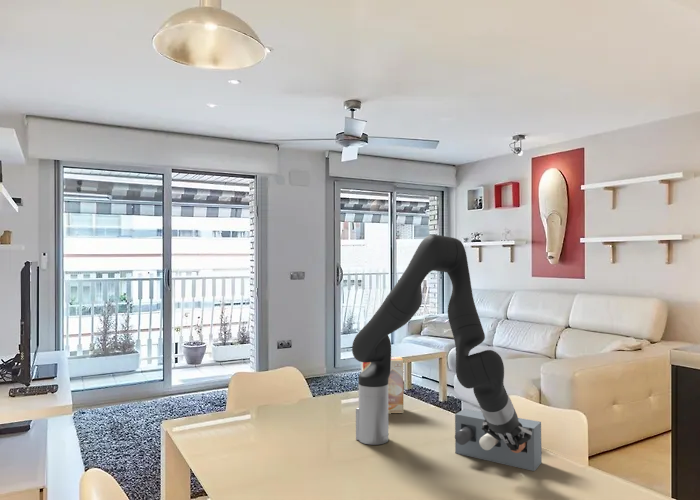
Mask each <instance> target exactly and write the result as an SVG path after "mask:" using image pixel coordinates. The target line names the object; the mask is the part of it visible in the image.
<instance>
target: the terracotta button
mask: <svg viewBox="0 0 700 500" xmlns="http://www.w3.org/2000/svg"><path fill="white" fill-rule="evenodd" d="M526 446H527V441H526V442H525V443H523V444H522V445H519V449H517V451H514V450H511V451H513V452H514V453H519V452H521V451H522V450H523V449H524V448H525V447H526Z"/></svg>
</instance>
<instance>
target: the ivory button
mask: <svg viewBox="0 0 700 500" xmlns="http://www.w3.org/2000/svg"><path fill="white" fill-rule="evenodd" d="M495 434H496V433H495ZM496 435H497V434H496ZM498 442H499V440H497V439H496V438H494V437H493V436H491V435H490V434H488V433H486V434H485V435H484V436H482V437H481V438H480V440H479V443H480V446H481V447H482V448H483V449H484V450H490V449H491V448H493V447H494V446H495V445H496V444H497V443H498Z"/></svg>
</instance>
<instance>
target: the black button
mask: <svg viewBox="0 0 700 500" xmlns="http://www.w3.org/2000/svg"><path fill="white" fill-rule="evenodd" d="M473 437H474V431H473V430H472V428H470V427H464V428H462V429H461V430H459V431H458V432H457V433H456V434H455V433H454V441H455V440H456V442H457V443H458V444H460V445H464V444H466V443H467V442H468V441H470V440H471V439H473Z"/></svg>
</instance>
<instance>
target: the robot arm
mask: <svg viewBox="0 0 700 500" xmlns="http://www.w3.org/2000/svg"><path fill="white" fill-rule="evenodd" d="M469 269H470V268H469V262H468V257H467V252H466V249H465V246H464V244H463V242H462V241H461V240H460V239H458V238H455V237H451V236H446V235H440V234H429V235H427V236H425V237H424V238H423V239H422V241H421V242H420V243H419V245H418V247H417V248H416V250H415V252H414V254H413V256H412V258H411V260H410V261H409V263H408V265H407V267H406V269H405V270H404V272H403V273H402V275H401V276H400V278H399V279H398V280H397V282H396V284H395V285H394V286H393V288H392V289H391V290H390V291H389V293H388V294H387V296H386V297H385V298H384V299H383V302H382V303H381V305H380V306H379V308H378V309H377V310H376V312H375V313H374V315H373V316H372V317H371V318H370V320H369V321H368V322H367V323H366V324H365V325H364V326H363V328H361V329H360V330H359V332H357V334H356V336H355V337H354V339H353V341H352V345H351V347H352V348H351V352H352V357H354V359H355V360H357V361H358V362H360V363H363V362H365V363H367V362H371V364H370V366H369V367H368V368H367V369H366V370H365V371H363V370H362V372H360V373H359V375H358V378H357V379H358V407H356V408H355V440H357V441H359V442H360V443H361V444H365V445H372V446H373V445H374V446H375V445H376V446H377V445H383V444H386V443H388V442H389V434H390V433H389V414H388V379H389V376H390V367H391V357H392V342H391V339H390V334H392V333H394V332H395V331H397V330H399V329H400V328H402V327H403V326H405V325H407V324H408V323H409V321H411V320H412V318H413V317H414V316H415V315H416V313H417V312H418V311H419V310H420V308H421V306H422V302H423V292H422V291H423V290H422V284H423V281H424V280H425V279H426V277H427V276H428V275H429V274H430V273H431V272H433V271H435V272H442V273H447V275H448V276H449V278H450V282H451V287H452V290H451V296H450V298H449V301H448V306H447V318H448V319H447V320H448V323H449V326H450V329H451V333H452V335H453V336H452V337H453V340H454V345H455V346H454V347H455V375H456V378H457V381H458V383H459V384H460V385H461V386H462V387H463V388H466V389H473V394H474V396H475V399H476V401H477V403H478V404H479V408H480V411H481V412H482V414H483V416H484V418H485V420H484V422H483V425H482V430H484V431H485V432H487V433H488V434H490V435H491V436H493V437H494V438H496V439H497V440H499V441H501V439H502V440H503V441H504V442H505V443H506V444H507V446H508V447H509V448H510V450H514V451H517V449H519V445H522V444H523V443H525V442H526V441H528V440H530V439H531V435H532V430H533V429H532V428H527V429H526V428H523V427H522V424H521V423H520V422H519V421H518V418H519V417H518V414H517V412H516V409H515V407H514V403H513V402H512V400H511V398H510V396H509V395H508V393H507V392H508V391H506V390H507V389H506V388H505V385H504V379H505V366H504V361H503V358H502V357H501V355H500V354H499V352H496V350H495V351H494V350H492V349H487V350H482V351H480V352H479V351H478V352H476V353H472V354H470V352H471V350H473V349H474V348H475V347H477V346H479V345H480V344H482V343H483V342H484V341H485V338H486V335H485V332H484V328H483V325H482V322H481V319H480V317H479V314H478V309H477V307H476V303H475V300H474V295H473V289H472V282H471V276H470V275H471V274H470V271H469ZM495 432H496V433H497V434H498V435H496V434H495ZM520 432H521V433H520ZM518 434H519V435H518Z"/></svg>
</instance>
